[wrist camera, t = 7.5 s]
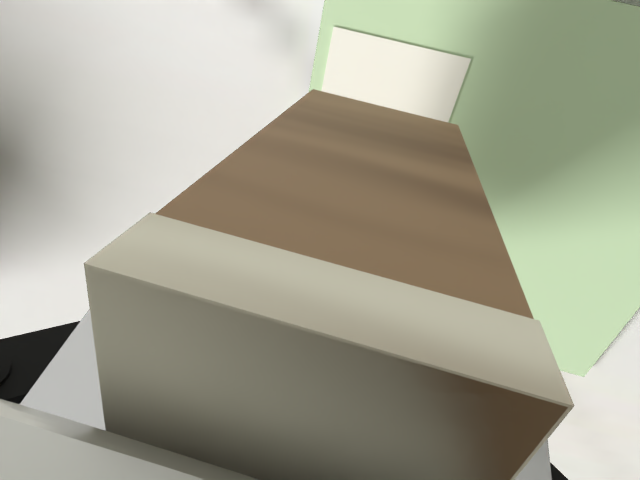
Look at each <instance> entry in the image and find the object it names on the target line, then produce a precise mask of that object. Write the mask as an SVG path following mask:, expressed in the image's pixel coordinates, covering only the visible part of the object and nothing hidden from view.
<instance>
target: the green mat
mask: <svg viewBox="0 0 640 480" xmlns="http://www.w3.org/2000/svg"><path fill="white" fill-rule="evenodd" d="M313 89H315V90H319V91H323V92H327V93H331V94H335V95H339V96H343V97H347V98H351V99H355V100H359V101H363V102H367V103H371V104H375V105H379V106H383V107H387V108H391V109H395V110H399V111H403V112H408V113H412V114H416V115H420V116H424V117H428V118H432V119H436V120H440V121H444V122H448V123H452V124H456V125H458V126H459V128H460V131H461V134H462V136H463V139H464V141H465V144H466V146H467V149H468V151H469V154H470V157H471V159H472V162H473V164H474V167H475V169H476V172H477V175H478V177H479V180H480V182H481V185H482V187H483V190H484V192H485V195H486V198H487V200H488V203H489V205H490V208H491V210H492V213H493V215H494V218H495V221H496V223H497V226H498V228H499V231H500V233H501V236H502V239H503V241H504V244H505V246H506V249H507V251H508V254H509V256H510V259H511V262H512V264H513V267H514V269H515V272H516V274H517V277H518V280H519V282H520V285H521V287H522V290H523V292H524V295H525V297H526V300H527V303H528V305H529V308H530V310H531V313H532V315H533V318H534V319H535V320H539V321H540V323H541V325H542V328H543V330H544V333H545V335H546V338H547V340H548V343H549V345H550V347H551V350H552V352H553V355H554V357H555V360H556V362H557V365H558V367H559V370H561V371H564V372H568V373H571V374H575V375H578V376H582V377H584V376H585V375H586V374H587V372H588V371H589V370H590V369H591V367H592V366H593V365H594V364H595V362H596V361H597V360H598V359H599V357H600V356H601V355H602V354H603V352H604V351H605V350H606V349H607V347H608V346H609V345H610V344H611V342H612V341H613V340H614V339H615V337H616V336H617V335H618V334H619V332H620V331H621V330H622V329H623V327H624V326H625V325H626V324H627V322H628V321H629V320H630V319H631V317H632V316H633V315H634V314H635V312H636V311H637V310H638V309H639V307H640V7H639V6H634V5H630V4H625V3H621V2H616V1H612V0H325V1H324V7H323V13H322V18H321V24H320V30H319V36H318V42H317V47H316V53H315V59H314V65H313V70H312V76H311V82H310V88H309V92H310V91H311V90H313Z"/></svg>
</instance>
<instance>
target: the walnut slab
mask: <svg viewBox="0 0 640 480" xmlns="http://www.w3.org/2000/svg"><path fill="white" fill-rule="evenodd" d="M84 268H85V275H86V283H87V291H88V298H89V306H90V314H91V322H92V329H93V337H94V345H95V352H96V360H97V368H98V375H99V383H100V391H101V399H102V406H103V414H104V422H105V429H106V431H108V432H111V433H114V434H118V435H121V436H124V437H127V438H130V439H133V440H137V441H140V442H143V443H146V444H149V445H152V446H156V447H159V448H162V449H165V450H168V451H172V452H175V453H178V454H181V455H184V456H187V457H191V458H194V459H197V460H200V461H203V462H206V463H209V464H212V465H216V466H219V467H222V468H225V469H228V470H231V471H234V472H237V473H241V474H244V475H247V476H250V477H253V478H256V479H259V480H514V479H515V478H516V477H517V476H518V475H519V473H520V472H521V471H522V470H523V468H524V467H525V466H526V465H527V463H528V462H529V461H530V460H531V459H532V457H533V456H534V455H535V454H536V452H537V451H538V450H539V449H540V447H541V446H542V445H543V444H544V443H545V441H546V440H547V439H548V438H549V436H550V435H551V434H552V433H553V431H554V430H555V429H556V428H557V427H558V425H559V424H560V423H561V422H562V420H563V419H564V418H565V417H566V416H567V414H568V413H569V412H570V411H571V409H572V408H573V407H574V404H573V402H572V399H571V397H570V394H569V392H568V389H567V387H566V384H565V382H564V379H563V377H562V374H561V372H560V370H559V367H558V365H557V362H556V360H555V357H554V355H553V352H552V350H551V347H550V345H549V343H548V340H547V338H546V335H545V333H544V330H543V328H542V325H541V323H540V321H539V320H535V319H534V318H533V315H532V313H531V310H530V308H529V305H528V303H527V300H526V297H525V295H524V292H523V290H522V287H521V285H520V282H519V280H518V277H517V274H516V272H515V269H514V267H513V264H512V262H511V259H510V256H509V254H508V251H507V249H506V246H505V244H504V241H503V239H502V236H501V233H500V231H499V228H498V226H497V223H496V221H495V218H494V215H493V213H492V210H491V208H490V205H489V203H488V200H487V198H486V195H485V192H484V190H483V187H482V185H481V182H480V180H479V177H478V175H477V172H476V169H475V167H474V164H473V162H472V159H471V157H470V154H469V151H468V149H467V146H466V144H465V141H464V139H463V136H462V134H461V131H460V128H459V126H458V125H456V124H452V123H448V122H444V121H440V120H436V119H432V118H428V117H424V116H420V115H416V114H412V113H408V112H403V111H399V110H395V109H391V108H387V107H383V106H379V105H375V104H371V103H367V102H363V101H359V100H355V99H351V98H347V97H343V96H339V95H335V94H331V93H327V92H323V91H319V90H315V89H313V90H311V91H310V92H309V93H307V94H306V95H305V96H304V97H302V98H301V99H300V100H299V101H297V102H296V103H295V104H294V105H292V106H291V107H290V108H288V109H287V110H286V111H285V112H283V113H282V114H281V115H280V116H278V117H277V118H276V119H275V120H273V121H272V122H271V123H269V124H268V125H267V126H266V127H264V128H263V129H262V130H261V131H259V132H258V133H257V134H256V135H254V136H253V137H252V138H250V139H249V140H248V141H247V142H245V143H244V144H243V145H242V146H240V147H239V148H238V149H237V150H235V151H234V152H233V153H231V154H230V155H229V156H228V157H226V158H225V159H224V160H223V161H221V162H220V163H219V164H218V165H216V166H215V167H214V168H213V169H211V170H210V171H209V172H207V173H206V174H205V175H204V176H202V177H201V178H200V179H199V180H197V181H196V182H195V183H194V184H192V185H191V186H190V187H188V188H187V189H186V190H185V191H183V192H182V193H181V194H180V195H178V196H177V197H176V198H175V199H173V200H172V201H171V202H169V203H168V204H167V205H166V206H164V207H163V208H162V209H161V210H159V211H158V212H157V213H156V214H154V213H149V214H147V215H146V216H145V217H143V218H142V219H141V220H140V221H138V222H137V223H136V224H134V225H133V226H132V227H130V228H129V229H128V230H127V231H125V232H124V233H123V234H121V235H120V236H119V237H117V238H116V239H115V240H114V241H112V242H111V243H110V244H108V245H107V246H106V247H104V248H103V249H102V250H101V251H99V252H98V253H97V254H95V255H94V256H93V257H91V258H90V259H89V260H88V261H86V262H85V263H84Z"/></svg>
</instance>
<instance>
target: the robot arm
mask: <svg viewBox="0 0 640 480" xmlns="http://www.w3.org/2000/svg"><path fill="white" fill-rule="evenodd" d="M0 480H259V479H256V478H253V477H250V476H247V475H244V474H241V473H237V472H234V471H231V470H228V469H225V468H222V467H219V466H216V465H212V464H209V463H206V462H203V461H200V460H197V459H194V458H191V457H187V456H184V455H181V454H178V453H175V452H172V451H168V450H165V449H162V448H159V447H156V446H152V445H149V444H146V443H143V442H140V441H137V440H133V439H130V438H127V437H124V436H121V435H118V434H114V433H111V432H108V431H106V429H105V422H104V414H103V406H102V399H101V391H100V383H99V375H98V368H97V360H96V352H95V345H94V337H93V329H92V322H91V314H90V309H89V310H88V312H87V313H86V314H85V316H84V317H83V318H82V320H81V321H78V322H74V323H70V324H65V325H61V326H56V327H52V328H48V329H43V330H39V331H35V332H30V333H26V334H22V335H17V336H13V337H9V338H4V339H0ZM514 480H568V479H567V478H566V477H565V476H564V475H563V474H562V473H561V472H560V471H559V470H558V469H557V468H556V467H555V466H554V465H552V464H551V463H550V457H549V448H548V439H547V440H546V441H545V443H544V444H543V445H542V446H541V447H540V449H539V450H538V451H537V452H536V454H535V455H534V456H533V457H532V459H531V460H530V461H529V462H528V463H527V465H526V466H525V467H524V468H523V470H522V471H521V472H520V473H519V475H518V476H517V477H516V478H515V479H514Z"/></svg>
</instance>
